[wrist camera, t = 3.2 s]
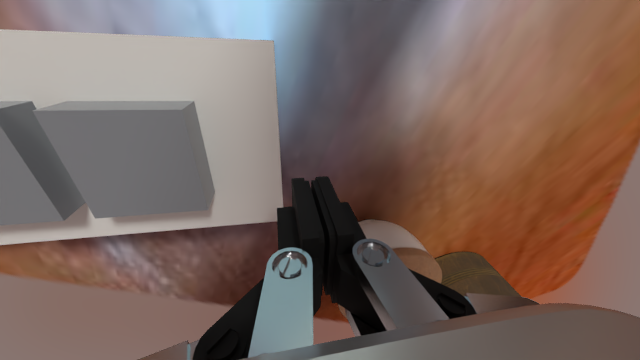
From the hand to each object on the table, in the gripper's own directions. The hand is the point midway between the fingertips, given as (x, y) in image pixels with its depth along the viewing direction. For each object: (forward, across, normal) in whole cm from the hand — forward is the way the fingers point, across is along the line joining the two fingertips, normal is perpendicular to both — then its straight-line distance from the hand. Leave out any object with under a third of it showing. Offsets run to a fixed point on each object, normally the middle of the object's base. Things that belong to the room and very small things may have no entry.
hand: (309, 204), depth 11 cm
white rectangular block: (+12, +11, -1) cm, 16 cm away
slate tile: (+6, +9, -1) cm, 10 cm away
